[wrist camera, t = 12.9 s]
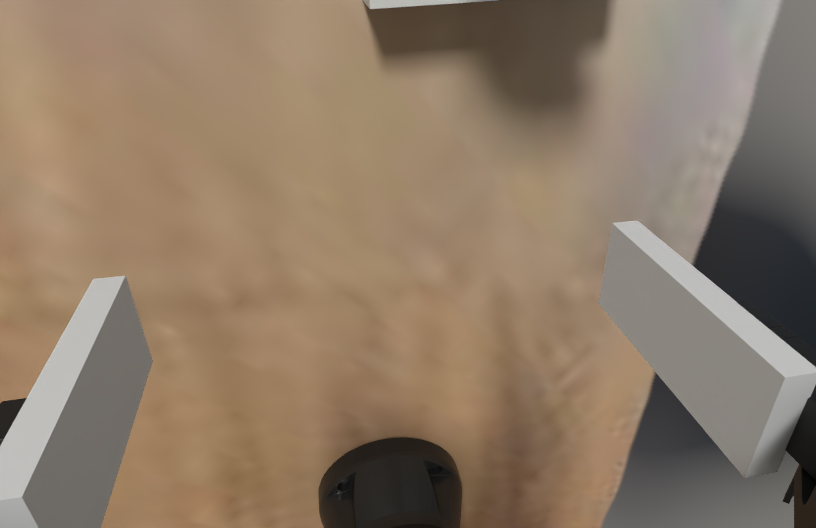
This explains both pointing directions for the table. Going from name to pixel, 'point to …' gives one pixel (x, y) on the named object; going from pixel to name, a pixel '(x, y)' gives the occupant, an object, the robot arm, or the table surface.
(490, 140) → the table surface
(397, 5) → the stand
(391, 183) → the table surface
